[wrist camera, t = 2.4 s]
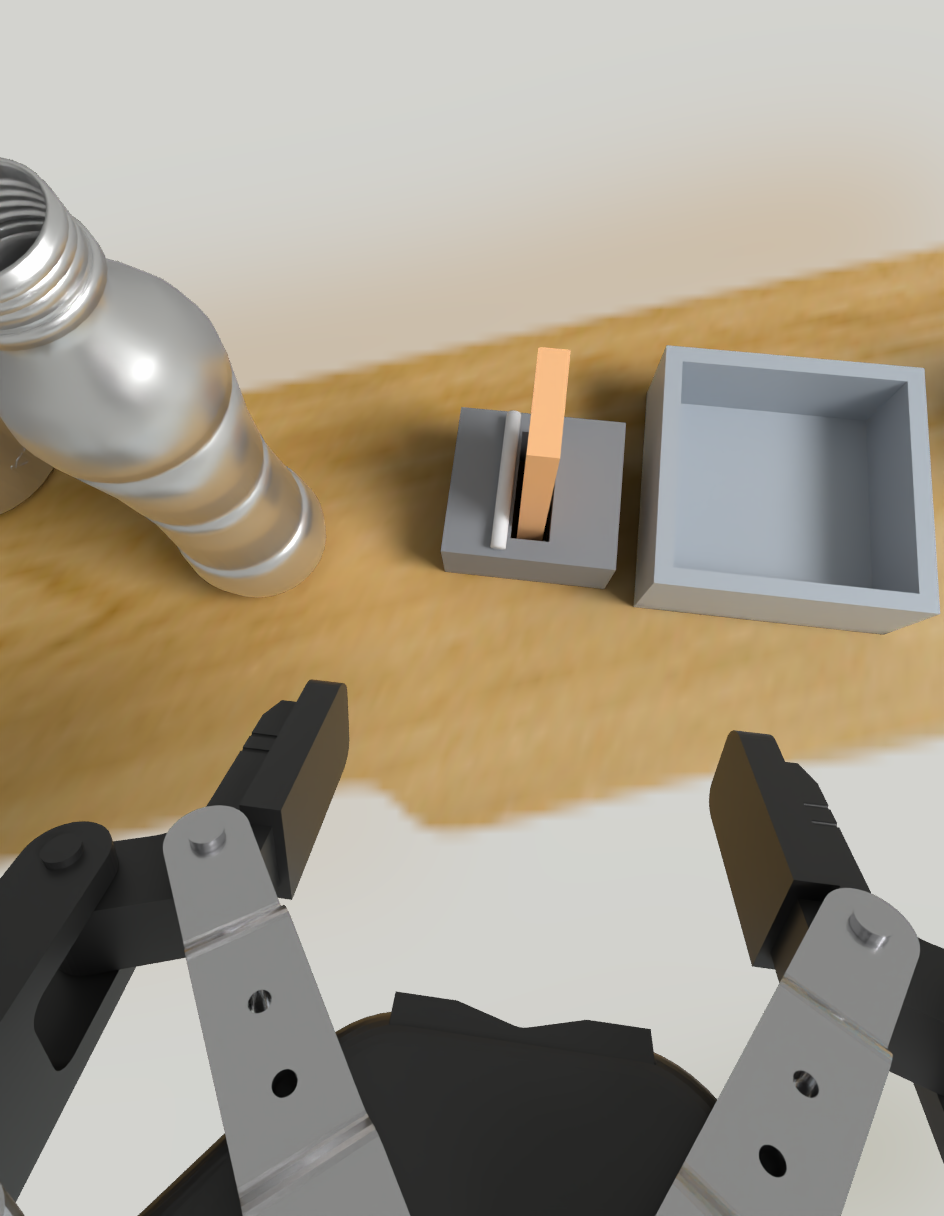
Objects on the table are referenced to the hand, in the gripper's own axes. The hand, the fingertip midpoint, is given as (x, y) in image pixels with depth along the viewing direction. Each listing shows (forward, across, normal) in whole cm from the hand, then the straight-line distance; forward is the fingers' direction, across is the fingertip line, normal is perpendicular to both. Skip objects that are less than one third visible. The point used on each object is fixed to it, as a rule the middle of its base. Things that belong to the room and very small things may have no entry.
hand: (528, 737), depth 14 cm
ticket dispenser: (+21, 0, +3) cm, 21 cm away
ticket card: (+21, 0, +3) cm, 21 cm away
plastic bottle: (+18, +13, +6) cm, 23 cm away
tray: (+22, -11, +2) cm, 25 cm away
